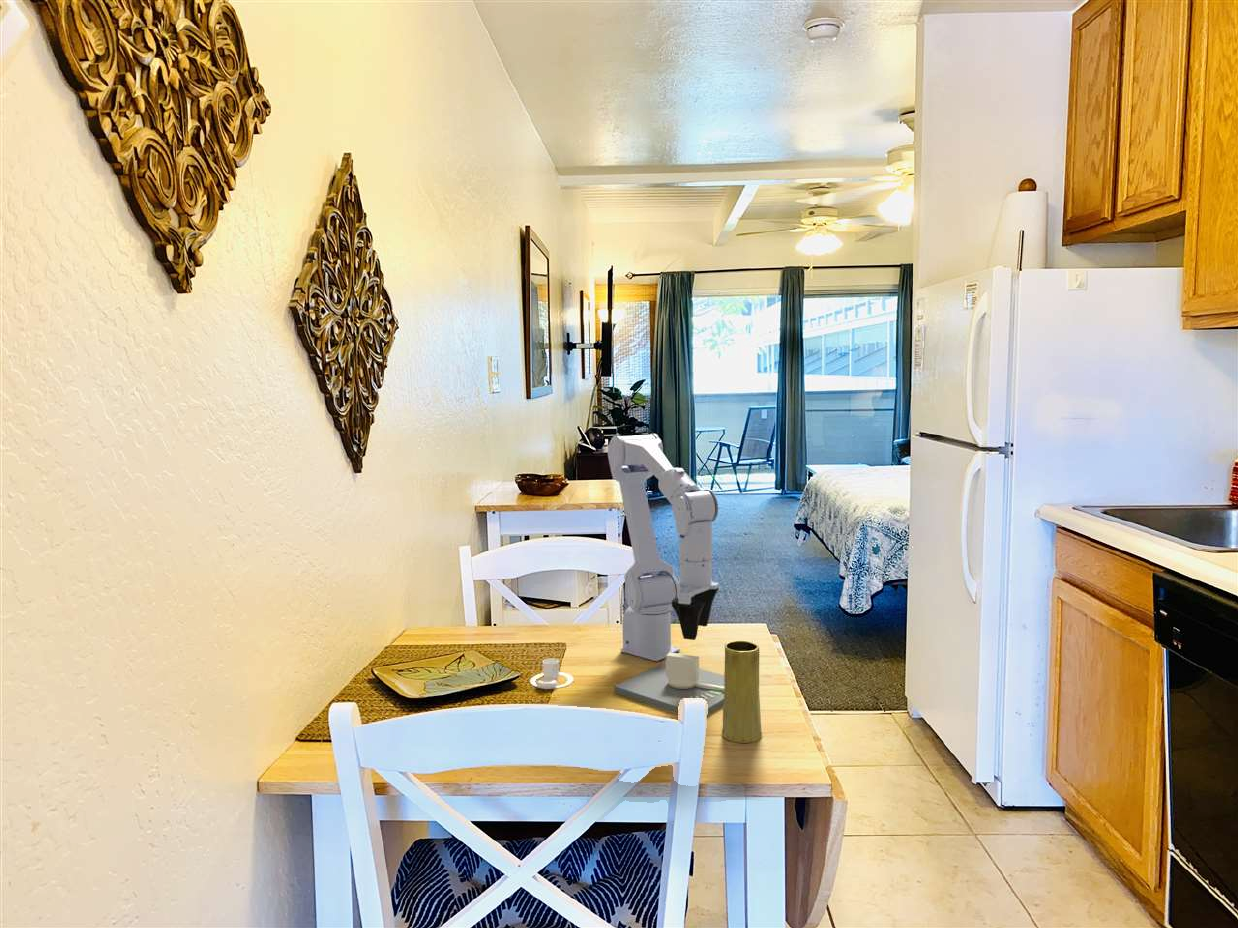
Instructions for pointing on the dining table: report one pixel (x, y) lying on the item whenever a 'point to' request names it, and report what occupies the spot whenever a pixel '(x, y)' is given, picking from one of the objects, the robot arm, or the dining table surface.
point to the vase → (741, 692)
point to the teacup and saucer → (550, 675)
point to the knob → (684, 672)
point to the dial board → (671, 689)
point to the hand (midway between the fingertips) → (695, 631)
